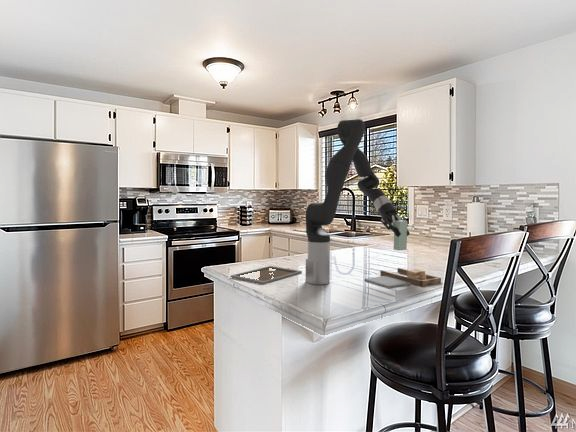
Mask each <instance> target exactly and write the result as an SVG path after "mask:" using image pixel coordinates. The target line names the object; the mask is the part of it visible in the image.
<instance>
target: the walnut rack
mask: <svg viewBox="0 0 576 432" xmlns="http://www.w3.org/2000/svg"><path fill="white" fill-rule="evenodd" d="M407 270H408V269H405V268H400V267H398V268H397V273H400V274H397V273H395V272H389V271H386V270H380V271H379V273H380V274H379V275H380V276H388V277H391V278H395V279H399V280H402V281H406V282H410V284H413V285H415V286H418V287H419V286H420V287H425V286H429V285H430V286H431V285H436V283H437V284H440V283H442V277H438V276H435V275H434V276H433V275H430V274H426V278H427V280H417V279H414V278H410V277H407ZM405 275H406V276H405Z"/></svg>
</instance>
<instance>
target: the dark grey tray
mask: <svg viewBox="0 0 576 432" xmlns="http://www.w3.org/2000/svg"><path fill="white" fill-rule="evenodd" d="M269 268H272V269H276V270H275V271H269ZM257 271H260V277H259V278H258V279H259V280H257V279H256V280H255V279H250V278H245V277H240V275H244V274H248V273H252V272H257ZM272 272H273V274H274V275H273V274H271V275H270V274H269V273H272ZM300 274H303V271H302V270H297V269H293V268H289V267H288V268H286V267H285V268H284V267H281V266H275V265H274V266H273V265H268V266H264V267H260V268H257V269H252V270H248V271H247V270H246V271H244V272H240V273H236V274H231V275H230V278H231V277H232V278H231V279H233V278H236V279H235V280H238V279H241V280H240V281H243V280H245V281H244V282H248V281H250V282H249V283H252V282H254V283H253V284H257V283H258V285H261V286H262V285H267V283H268V284H271V283H274V282H278V281H280V280H285V279H287V278H290V277H293V276H297V275H300ZM272 276H273V277H274V278H273V279H271V278H272ZM277 280H278V281H277ZM270 282H271V283H270Z"/></svg>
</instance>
